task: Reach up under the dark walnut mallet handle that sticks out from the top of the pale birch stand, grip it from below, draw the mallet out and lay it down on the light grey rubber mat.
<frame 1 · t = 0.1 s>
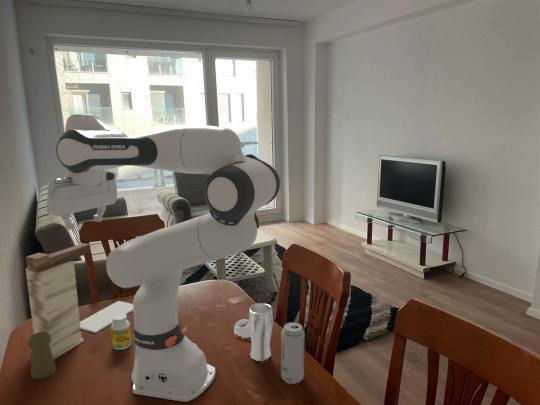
hand: (84, 224, 106), 39 cm above the table, fingers open, 8 cm apart
mallet: (62, 260, 115), point 26 cm above the table, touching stand
beer glass: (260, 356, 112), on the table
supplement bottle: (122, 346, 117), on the table
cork: (43, 372, 105), on the table
mat: (108, 316, 135), on the table
energy drink can: (292, 379, 102), on the table
stand: (59, 346, 117), on the table
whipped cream: (244, 334, 124), on the table
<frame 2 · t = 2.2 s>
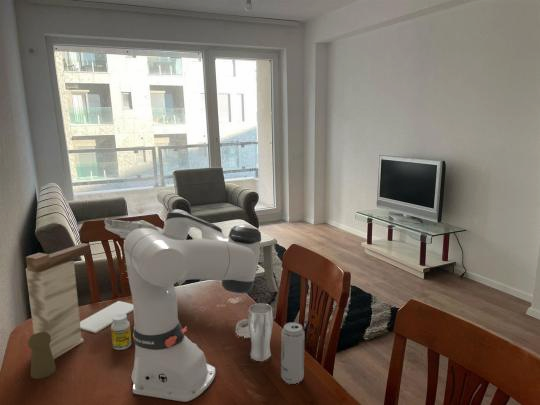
hand: (116, 222, 134), 33 cm above the table, fingers open, 8 cm apart
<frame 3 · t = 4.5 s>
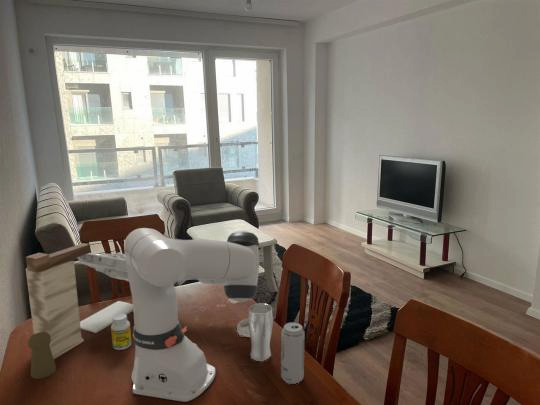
hand: (89, 257, 125), 24 cm above the table, fingers open, 8 cm apart
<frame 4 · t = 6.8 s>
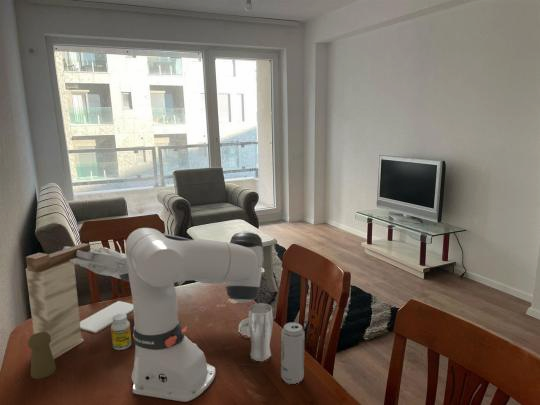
hand: (71, 251, 118), 28 cm above the table, fingers closed on mallet, 3 cm apart
mallet: (62, 260, 115), point 26 cm above the table, touching gripper, stand
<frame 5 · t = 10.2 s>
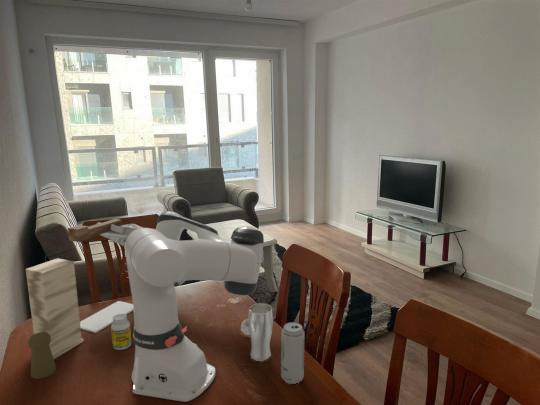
hand: (105, 225, 129), 33 cm above the table, fingers closed on mallet, 3 cm apart
mallet: (98, 233, 127), point 31 cm above the table, touching gripper
when the fingers open (12 cm above the table, at t = 13.6 s): mallet drops 8 cm, resting on mat.
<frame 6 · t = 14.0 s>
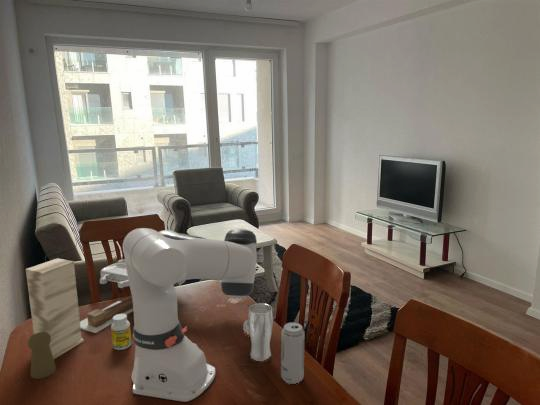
hand: (110, 283, 133), 12 cm above the table, fingers open, 7 cm apart
mallet: (115, 314, 135), point 1 cm above the table, touching mat
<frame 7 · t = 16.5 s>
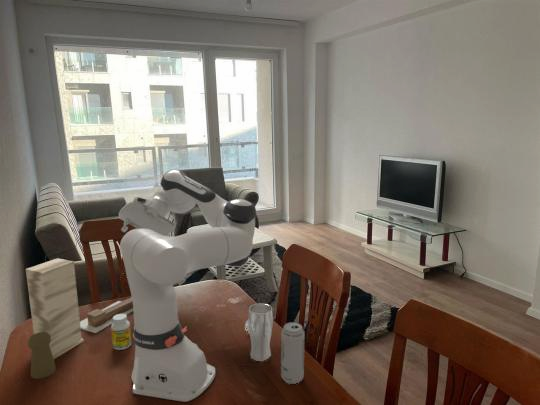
hand: (134, 236, 141), 26 cm above the table, fingers open, 8 cm apart
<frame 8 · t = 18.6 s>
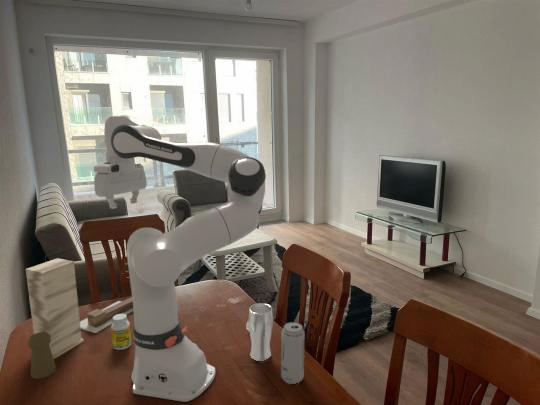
hand: (123, 205, 131), 39 cm above the table, fingers open, 8 cm apart
at the end: mallet inside the target area (2.7 cm from its centre), point 0.6 cm above the table; mallet touching mat; the gripper is holding nothing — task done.
